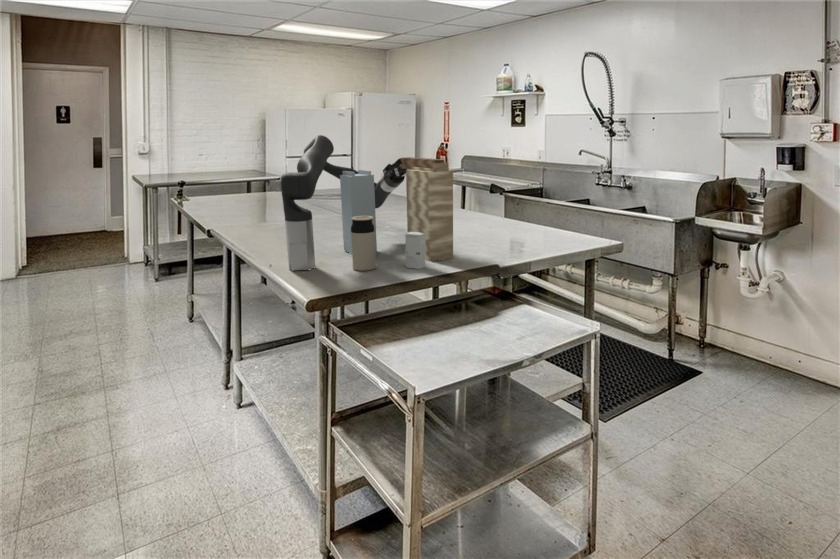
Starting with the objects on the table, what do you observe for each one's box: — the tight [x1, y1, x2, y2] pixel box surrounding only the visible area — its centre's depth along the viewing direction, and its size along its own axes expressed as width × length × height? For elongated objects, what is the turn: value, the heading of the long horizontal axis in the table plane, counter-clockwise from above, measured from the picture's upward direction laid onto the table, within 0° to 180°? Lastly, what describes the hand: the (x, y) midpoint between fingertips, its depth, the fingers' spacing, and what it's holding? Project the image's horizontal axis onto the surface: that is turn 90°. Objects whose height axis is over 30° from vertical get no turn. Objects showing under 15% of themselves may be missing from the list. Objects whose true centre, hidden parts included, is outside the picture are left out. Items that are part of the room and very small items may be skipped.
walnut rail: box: [399, 156, 445, 170], centre depth 207 cm, size 24×4×4 cm, turn 33°
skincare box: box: [405, 232, 426, 270], centre depth 194 cm, size 6×4×12 cm
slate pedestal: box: [339, 169, 378, 255], centre depth 217 cm, size 9×10×32 cm
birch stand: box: [405, 161, 454, 262], centre depth 207 cm, size 16×10×35 cm, turn 33°
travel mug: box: [351, 216, 377, 272], centre depth 192 cm, size 8×8×18 cm
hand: (409, 160), depth 214 cm, fingers open, 7 cm apart
